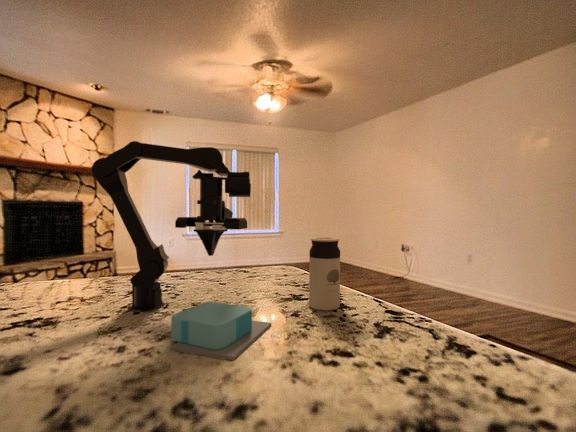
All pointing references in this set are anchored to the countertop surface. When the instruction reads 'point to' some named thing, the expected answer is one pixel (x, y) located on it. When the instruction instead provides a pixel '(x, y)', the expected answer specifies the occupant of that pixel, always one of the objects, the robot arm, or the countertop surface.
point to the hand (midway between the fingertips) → (210, 255)
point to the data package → (211, 325)
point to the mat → (230, 350)
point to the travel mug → (324, 274)
